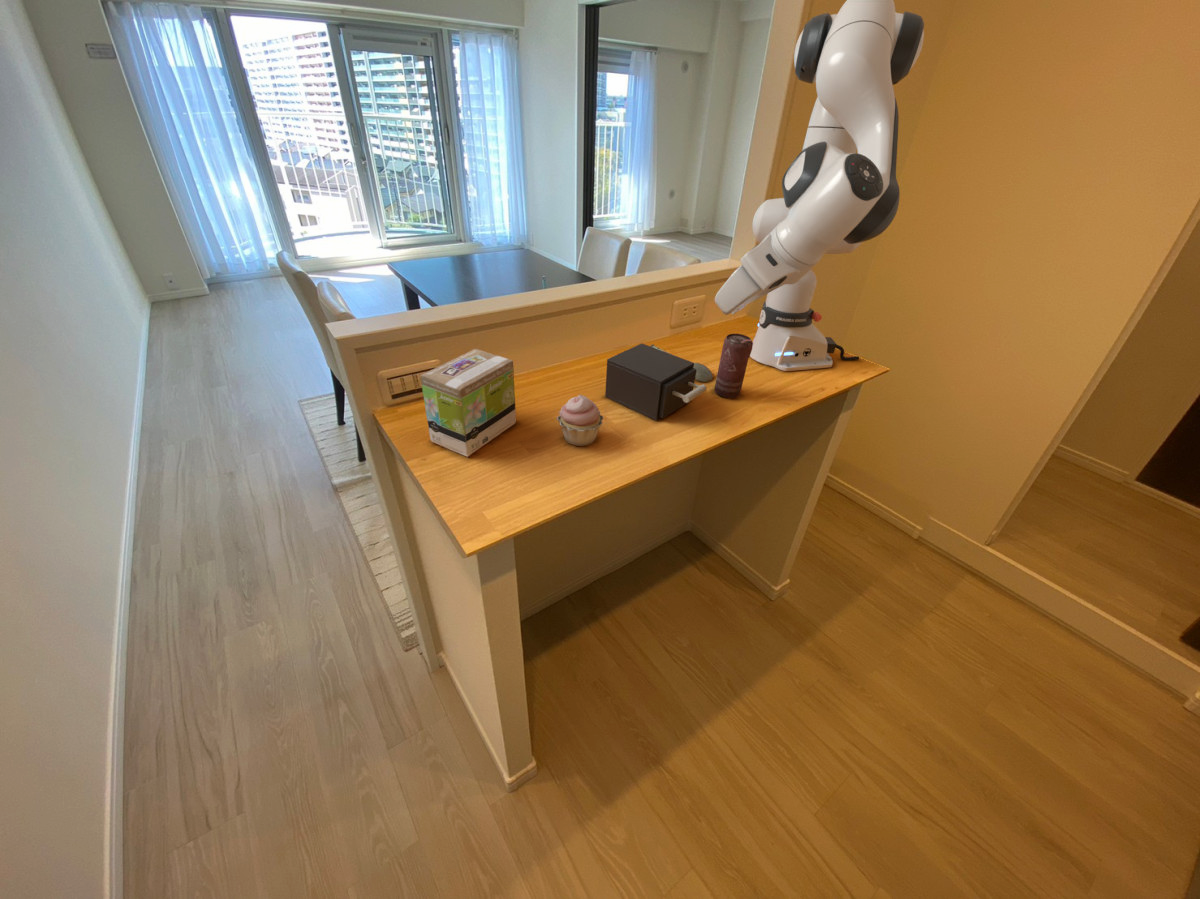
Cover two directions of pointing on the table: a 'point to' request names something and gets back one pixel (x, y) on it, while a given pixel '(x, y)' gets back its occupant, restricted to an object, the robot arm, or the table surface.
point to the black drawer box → (642, 378)
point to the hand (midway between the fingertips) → (733, 309)
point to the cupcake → (580, 421)
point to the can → (733, 365)
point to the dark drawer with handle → (679, 392)
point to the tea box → (469, 400)
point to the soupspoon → (698, 370)
